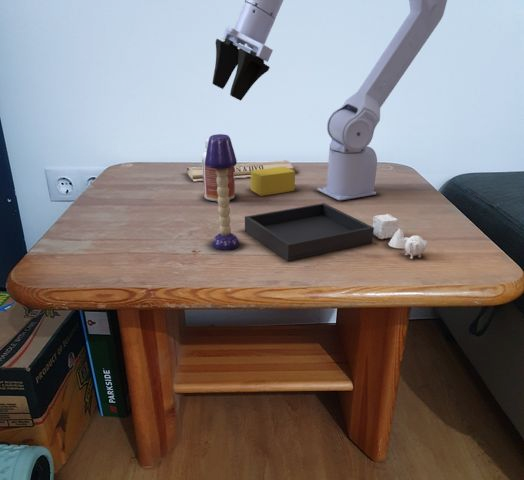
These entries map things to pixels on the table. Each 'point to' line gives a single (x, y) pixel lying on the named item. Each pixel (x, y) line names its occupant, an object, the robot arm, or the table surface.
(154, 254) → the table surface
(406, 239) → the game pieces
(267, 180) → the sponge
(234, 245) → the toy lamp
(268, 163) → the newspaper
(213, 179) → the pill bottle
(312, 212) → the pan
